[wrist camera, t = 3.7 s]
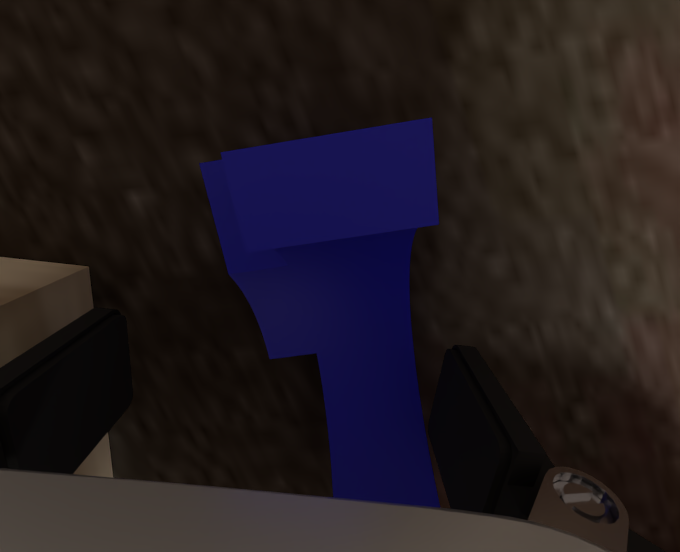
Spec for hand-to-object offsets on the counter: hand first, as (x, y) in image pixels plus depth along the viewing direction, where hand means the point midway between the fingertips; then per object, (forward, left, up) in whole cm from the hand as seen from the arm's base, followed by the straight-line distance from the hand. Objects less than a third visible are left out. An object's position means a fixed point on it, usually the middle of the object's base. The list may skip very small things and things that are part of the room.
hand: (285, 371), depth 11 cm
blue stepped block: (-2, 0, -3) cm, 3 cm away
